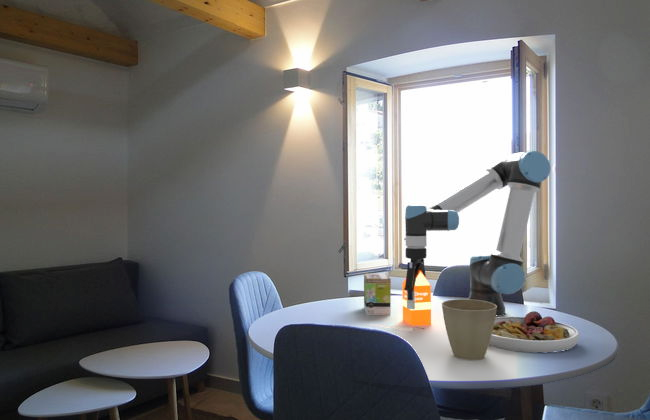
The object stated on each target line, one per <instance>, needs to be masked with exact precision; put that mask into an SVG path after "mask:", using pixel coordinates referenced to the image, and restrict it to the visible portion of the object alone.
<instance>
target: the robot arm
mask: <svg viewBox="0 0 650 420" xmlns="http://www.w3.org/2000/svg"><path fill="white" fill-rule="evenodd" d="M550 172H551V163H550V160H549V159H548V157H547V156H546V155H544V153H542V152H540V151H537V150H527V151H522V152H517V153H516V152H515V153H511V154H509V155H507V156H505V157H503V158H502V159H499V161H497V162H496V163H495V164H493V165H491V166H490V167H488V168H487V169H486V170H485V173H483V174H481V175H480V176H478V177H477V178H475V179H473V180H471V181H470V182H469V183H467V184H466V185H464V186H463V187H461V188H459V189H458V190H456V191H455V192H454V191H453V192H452V193H451V194H450V195H447V196H446V197H445V198H443V199H441V200H439V201H438V202H437V203H435V204H433V205H431V206H430V207H428V208H427V206H426V205H425V204H411V205H410V204H409V205H407V206H406V207H405V214H404V215H405V216H404V218H405V219H404V221H405V223H404V224H405V237H404V241H405V246H406V248H405V258H406V259H410V262H406V263H407V265H406V267H407V269H406V276H405V278H406V283H405V288H404V290H406V291H407V309H415V291H414V287H415V282H416V277H417V275H418V273H419V270H420V271H421V272H422V273H423V275H424V276H425V278H426V279H427V276H426V275H427V274H426V270H425V269H426V267H425V259H426V258H427V248H426V247H427V232H429V231H431V232H432V231H439V232H440V231H444V232H445V231H448V232H449V231H455V230H457V229H458V227H459V224H460V215H459V213H460V212H461V211H463V210H464V209H466V208H468V207H469V206H471V205H472V204H474V203H476V202H478V201H479V200H481V199H482V198H484V197H485V196H487V195H489V194H490V193H492V192H493V191H495V190H496V189H497V190H501V189H503V188H505V187H507V186H508V187H509V194H508V198H507V203H506V207H505V212H504V215H503V220H502V224H501V229H500V233H499V237H498V241H497V245H496V250H495V251H492V252H491V253H490V255H473V256H471V257H470V260H469V282H470V283H469V286H470V287H469V288H470V290H469V291H470V292H469V296H468V299H472V300H481V301H487V302H490V303H493V304H495V305H496V306H497V310H496V315H502V314H504V313H505V314H506V307H505V303H504V301H503V297H502V294H504V295H512V294H516V293H517V292H518V291H520V290H521V288H522V287H524V284H525V281H526V275H525V274H526V273H525V272H524V268H522V267H523V263H524V260H523V259H522V257H521V252H522V249H523V245H524V244H523V243H524V239H525V236H526V235H525V234H526V231H527V226H528V223H529V218H530V213H531V209H532V204H533V201H534V196H535V193H538V192H539V191H540V190H541V186H542V182H544V181H545V180H546V179H548V177H549V175H550ZM505 314H504V315H505ZM502 316H503V315H502Z"/></svg>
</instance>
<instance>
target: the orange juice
mask: <svg viewBox="0 0 650 420" xmlns="http://www.w3.org/2000/svg"><path fill="white" fill-rule="evenodd" d="M405 283H406V277H405V278H404V280H403V282H402V321H403V322H405V323H407V324H409V325H410V326H427V325H429V326H430V325H432V293H431V292H432V291H431V290H432V285H431V284H430V282H429V281H428V279H427V277H426V278H425V276H424V275H423V273H422V272H421V271H420V270H419V273H418V275H417V277H416V282H415V287H414V291H415V309H407V291H406V290H404V288H405Z"/></svg>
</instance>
